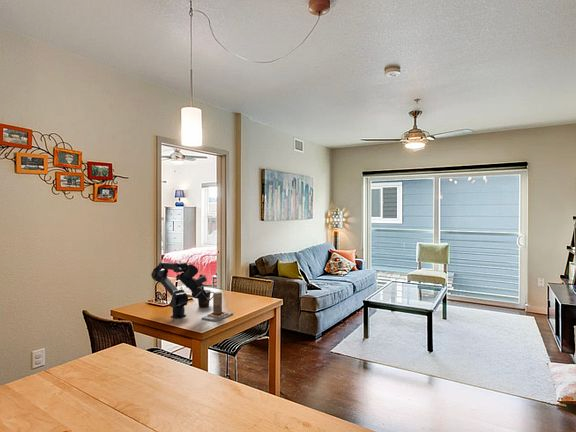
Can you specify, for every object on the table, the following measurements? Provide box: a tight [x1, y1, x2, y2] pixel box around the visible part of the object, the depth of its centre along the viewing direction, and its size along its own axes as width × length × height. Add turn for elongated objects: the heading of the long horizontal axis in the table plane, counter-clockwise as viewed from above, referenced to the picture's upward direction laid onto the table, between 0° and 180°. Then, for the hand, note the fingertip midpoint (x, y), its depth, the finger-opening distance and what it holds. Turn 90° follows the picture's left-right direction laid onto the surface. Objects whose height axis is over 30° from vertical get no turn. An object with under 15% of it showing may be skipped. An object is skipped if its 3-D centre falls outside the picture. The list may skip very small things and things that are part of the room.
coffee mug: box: [197, 289, 215, 309], centre depth 227 cm, size 12×9×10 cm
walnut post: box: [212, 291, 223, 316], centre depth 205 cm, size 5×5×13 cm
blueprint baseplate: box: [201, 310, 234, 323], centre depth 205 cm, size 16×11×2 cm, turn 154°
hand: (208, 299), depth 203 cm, fingers open, 9 cm apart
